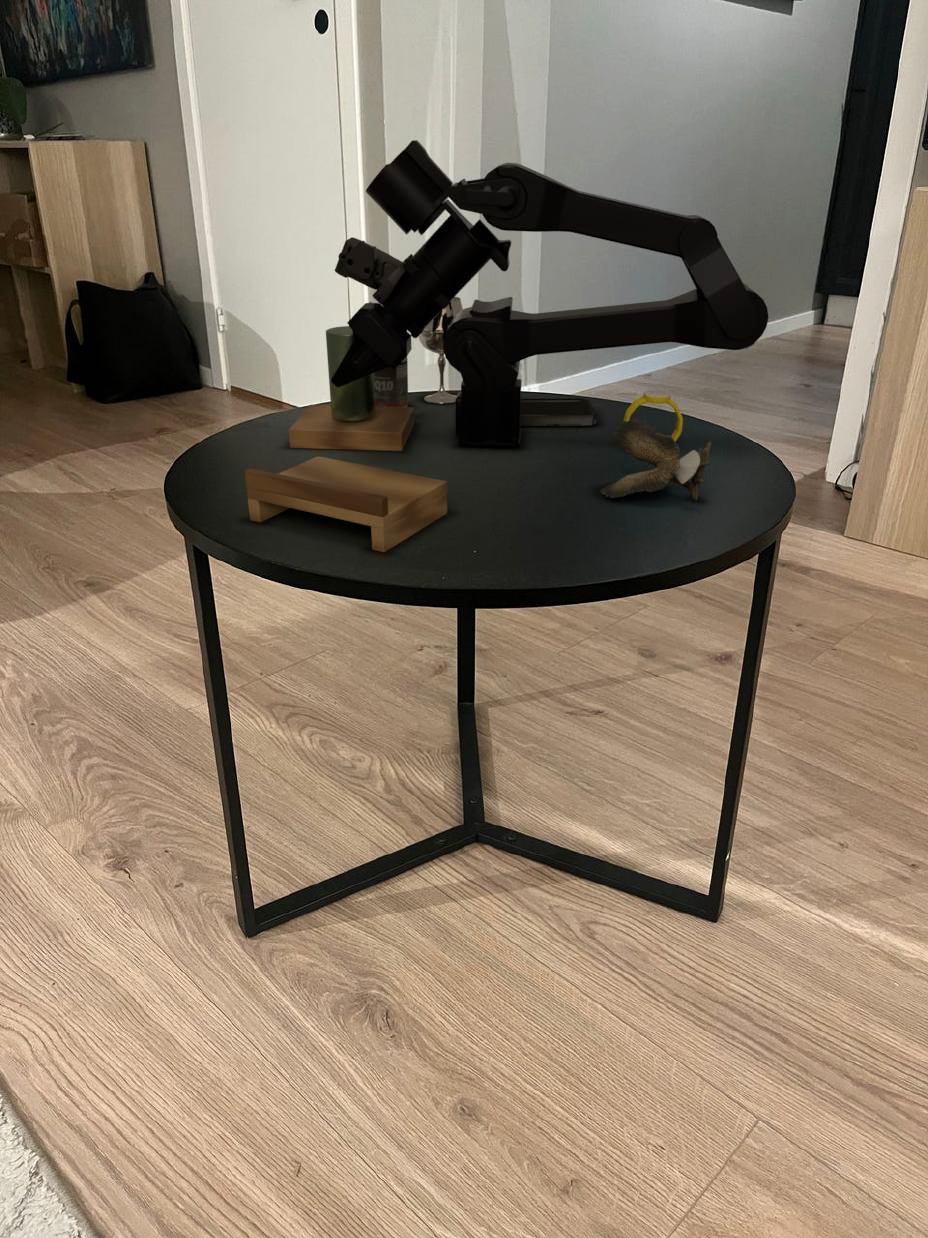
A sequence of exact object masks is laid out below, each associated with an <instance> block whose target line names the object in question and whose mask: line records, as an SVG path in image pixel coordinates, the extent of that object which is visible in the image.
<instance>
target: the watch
mask: <svg viewBox="0 0 928 1238" xmlns="http://www.w3.org/2000/svg"><path fill="white" fill-rule="evenodd" d="M671 396H672V395H671V394H670V393H669V392H667V391H662V390H646V391H643V395H642V396H641V397H639V398H636V399H635V400H634V401H632V403H631V404H630V406H628V408H627V409H626V411H625V413H624V417H623V421H622V423H623V422H624V421H629V420H630V421H631V416H632V415H633V414H634V412H635V411H636V410H638V408H639V407H640V406H642V405H645V404H646V403H651V404H658V405H660V404H661V405H662V404H668V405H669V406H671V408H672V409H673V410H674V412H675V414H676V425H675V429H674V431H673V432H672V433H671V435H670V436H671V437H672V439H674V441H675V442H676V443H677V440H678V439H679V437H680V436H681V434H682V432H683V423H684V419H683V415H682V413H681V410H680V407H679V406H678V405H677V404H676V402H675V401H674V400H672V399H671Z"/></svg>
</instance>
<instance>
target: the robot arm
mask: <svg viewBox="0 0 928 1238" xmlns="http://www.w3.org/2000/svg"><path fill="white" fill-rule="evenodd" d="M365 193H366V194H367V195H368V196H369V197H370V198H371V199H372V200H373V201H374V203H376V204H377V205H378V207H379V208H380V209H381V210H382V211H383V212H384V213H385V214H386V215H387V216H388V217H389V218H390V219H391V220H392V222H394V223H395V225H396V226H397V227H398V228H399V229H400V230H401V231H402V232H403V233H404V234H405V235H407V236H408V235H409V233H410V232H413V233H414V234H415V233H416V232H418V234H419V235H420V236H423V235H424V234H425V233H426V232H427V231H428V230H429V228H430V227H431V226H432V225H433V224H434V223H435V222H437V220H438V219H439V218H440V216H442V214H443V213H444V212H445V211H446V212H447V213H448V214H449V216H448V217H447V218H446V219H445V220H444V221H443V222H442V223H441V225H439V226H438V228H437V229H436V230H435V231H434V232H433V233H432V234H431V236H430V237H428V239H427V240H426V241H425V242H424V243H423V244H422V245H421V246H420V247H419V248H418V250H417V251H416V252H415V253H414V254H412V253H410V254H409V255H408V256H407V257H406V258H405V259H404V260H403V261H402V260H399V259H398V258H396V257H394V256H392V255H391V254H389V253H387V252H385V251H383V250H381V249H380V248H377V246H375V245H371V244H369V243H367V242H366V241H365V240H361V239H359V238H357V237H352V236H351V237H350V238H348V239H346V240H345V241H344V244H343V247H342V249H341V251H340V253H339V254H338V260H337V262H336V266H335V268H334V272H335V273H336V274H338V275H339V276H341V277H342V278H345V279H347V278H350V279H352V280H353V281H356V282H358V283H360V284H362V285H364V286H365V287H368V288H370V289H373V290H375V292H374V293H373V294H372V295H371V296H372V297H373V299H374V300H375V301H376V302H372V301H369V302H365V303H364V304H363V305H362V306H361V307H360V308H359V309H358V310H357V311H356V312H355V313H354V314H353V316H351V318H350V319H349V320H348V321H347V322H346V324H347V326H349V327H350V328H351V329H352V332H353V343H352V345H351V346H350V348H349V350H348V351H347V353H346V355H345V357H344V358H343V360H342V362H341V363H340V365H339V367H338V368H337V370H336V372H335V373H334V375H333V377H332V379H331V382H332V383H333V384H334V385H335V386H336V387H341V386H343V385H346V384H348V383H351V382H353V381H355V380H358V379H360V378H362V377H365V376H367V375H370V374H372V373H375V372H377V371H380V370H383V369H385V368H388V367H391V368H392V369H395V368H396V367H397V366H398V365H399V364H400V363H401V362H402V361H403V360H404V359H405V358H406V357H407V358H408V356H409V354H410V353H411V351H412V347H413V346H412V338H413V339H417V338H419V337H418V336H419V335H420V334H421V333H422V332H423V331H424V329H425V327H426V326H427V325H428V324H429V323H430V322H431V321H432V320H433V319H434V318H435V317H436V316H437V315H438V314H439V313H440V312H441V311H442V309H445V308H446V307H447V306H448V305H449V304H450V303H451V301H452V299H453V298H454V297H457V295H458V294H459V293H460V292H461V291H462V290H463V289H464V288H465V287H466V286H467V285H468V283H470V281H471V280H472V279H473V278H475V276H477V274H478V273H479V272H480V271H481V270H482V269H483V268H484V267H485V265H487V264H488V263H489V261H490V260H491V261H492V262H493V263H494V264H495V265H496V266H497V267H498V269H500V271H502V272H507V271H508V270H509V267H510V249H511V246H512V242H513V241H512V240H511V239H499V238H498V237H497V236H496V235H495V234H494V233H493V231H492V230H491V229H489V227H488V226H487V225H486V224H485V223H484V222H483V221H482V219H480V218H479V219H478V220H477V221H476V222H475V223H474V224H473V223H472V222H470V220H469V219H467V218H466V216H464V215H463V214H462V212H461V211H466V212H470V213H475V214H480V215H482V216H483V218H484V220H485V221H486V223H488V225H490V226H491V227H493V228H495V229H498V230H500V231H506V232H508V231H509V232H531V233H545V232H546V233H547V232H549V233H550V232H562V233H563V232H565V233H566V232H567V233H574V234H578V235H582V236H586V237H589V238H594V239H599V240H604V241H608V242H612V243H617V244H620V245H626V246H630V247H634V248H638V249H643V250H646V251H651V252H657V253H660V254H665V255H670V256H673V257H678V258H679V259H680V258H681V260H682V263H683V265H684V266H685V268H686V270H687V273H688V275H689V277H690V279H691V281H692V283H693V285H694V287H695V289H692V290H690V291H687V292H685V293H681V294H679V295H677V296H674V297H671V298H669V299H665V300H654V301H646V302H645V301H644V302H635V303H626V304H616V305H615V304H614V305H606V306H596V307H595V306H594V307H586V308H585V307H584V308H577V309H575V308H574V309H565V310H556V311H545V312H537V313H535V312H534V313H531V312H524V311H520V310H514V309H513V301H514V298H513V297H512V296H508V297H507V296H506V297H504V298H500V299H496V300H493V301H483V300H479V299H474V300H473V303H472V304H471V306H470V307H465V308H463V310H461V311H460V312H459V313H458V314H457V315H456V316H455V317H454V318H453V320H452V321H451V323H450V325H449V327H448V329H447V331H446V334H445V337H444V340H443V350H444V357H445V360H447V362H448V364H449V365H450V366H451V367H452V368H453V369H455V370H456V371H457V372H458V373H460V375H461V376H460V377H461V378H462V380H461V383H460V391H459V392H458V393H457V394H456V396H457V397H456V402H455V436H457V437H459V439H458V446H460V447H480V448H481V447H485V448H486V447H487V448H520V447H521V439H522V438H521V437H522V426H520V409H521V399H522V379H521V378H518V377H519V374H520V373H519V372H520V365H521V361H524V360H526V359H528V358H530V357H533V356H539V355H550V354H559V353H560V354H561V353H569V352H581V351H589V350H590V351H591V350H601V349H612V348H613V349H614V348H623V347H633V346H634V347H635V346H643V345H652V344H653V345H655V344H663V343H677V344H682V345H687V346H688V345H689V346H692V347H698V348H704V349H716V350H726V351H727V350H728V351H740V350H745V349H748V348H750V347H752V346H754V345H755V344H756V342H757V341H758V340H759V339H760V338H761V337H762V336H763V334H764V333H765V331H766V329H767V327H768V322H769V311H768V306H767V304H766V302H765V300H764V298H763V297H761V296H760V295H759V294H758V293H756V291H754V290H753V289H752V288H751V287H750V286H748V285H747V284H746V283H744V282H743V281H742V278H741V277H740V274H739V273H738V271H737V269H736V268H735V266H734V264H733V263H732V261H731V259H730V257H729V256H728V254H727V252H726V251H725V249H724V246H723V245H722V243H721V241H720V239H719V237H718V231H717V228H716V227H715V225H714V224H713V223H712V222H711V221H710V220H708V219H707V218H705V217H703V216H700V215H698V214H689V215H688V214H686V215H685V214H681V213H677V212H672V211H668V210H663V209H660V208H655V207H650V206H646V205H642V204H637V203H633V202H629V201H625V200H621V199H617V198H611V197H607V196H602V195H598V194H594V193H591V192H590V193H589V192H585V191H581V190H578V189H576V188H573V187H571V186H568V185H567V184H564V183H562V182H560V181H558V180H556V179H554V178H552V177H550V176H548V175H546V174H543V173H541V172H538V171H536V170H534V169H532V168H530V167H528V166H525V165H523V164H521V163H517V162H505V163H501V164H498V165H497V166H496V167H494V168H493V169H492V170H490V171H489V172H488V173H486V175H485V177H484V178H483V177H482V178H477V179H471V180H467V179H466V178H463V179H460V180H459V181H457V182H453V181H452V180H451V178H450V177H449V176H448V175H447V174H446V173H445V172H444V170H443V169H441V167H439V165H438V164H437V163H436V162H435V161H434V160H433V159H432V158H431V156H430V154H429V153H428V151H427V149H426V148H425V146H423V144H422V143H421V142H419V140H417V139H416V140H415V139H414V140H411V141H410V142H409V144H408V145H406V147H405V148H404V149H403V150H401V152H400V153H398V155H397V156H395V158H394V159H393V160H392V161H391V162H390V163H386V164H385V165H384V166H383V167H382V168H381V170H380V171H379V172H378V174H377V175H376V176H375V177H374V178H373V179H372V181H371V182H370V183H369V185H368V187H367V188H366V189H365ZM448 198H449V199H448ZM460 210H461V211H460Z"/></svg>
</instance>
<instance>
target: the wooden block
mask: <svg viewBox="0 0 928 1238" xmlns="http://www.w3.org/2000/svg"><path fill="white" fill-rule="evenodd" d="M375 407H376V415H375V416H374V417H372V418H370V419H366V420H360V421H343V420H338V419H335V418H333V417H332V415H331V404H329V405H328V404H326V405H325V404H309V405H308V406H307V407H306V409H305V410H303V412H302V413H301V414H300V416H299V417H298V418H297V419H296V420H295V421H294V422H293V424H292V425H291V426H290V427H289V428H288V441H289V449H313V450H314V449H315V450H316V449H318V450H349V451H351V450H352V451H384V452H385V451H387V452H389V451H390V452H403V450H404V448H405V445H406V443H407V441H408V439H409V437H410V435H411V433H412V430H413V429H414V425H415V407H414V406H411V407H410V406H408V407H377V406H375Z"/></svg>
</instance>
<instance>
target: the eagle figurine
mask: <svg viewBox="0 0 928 1238" xmlns="http://www.w3.org/2000/svg"><path fill="white" fill-rule="evenodd" d="M614 431H615V432H614V433H613V434H612V438H613V439H614V440H613V441H614V443H615V444H616V445H617V448H618V449H619V450H620V451H622V452H624V453H626V454H628V455H630V456H631V457H633V458H635V459H637V460H638V461H641V462H644V463H648V464H650V465H652V466H654V467H655V468H653V469H648V470H644V471H638V472H635V473H630V474H627V475H624V476H623V477H622V478H620V479H619V480H618V481H616V482H613V483H611V484H608V485H606V487H602V488H601V490H599V492H600V493H601V495H603V496H605V497H606V498H608V497H609V498H610V499H614V498H621V497H626V496H627V495H633V494H635V493H640V492H641V493H642V492H650V493H653V492H657V491H661V490H664V488H666V487H667V484H668V483H675V484H677V485H679V486H682V487H683V488H686V489H687V490H688V491H689V492H690V494H691V498H692V499H693V500H694V501H695V502H697V501H698V500H699V488H700V485H701V484H704V483H705V480H704V478H703V475H704V472H705V469H706V466H708V465H710V464H711V461H708V459H709V455H710V451H711V447H712V441H708V442H707V443H706V446H705V447H704V448H703V447H700V448H699V450H698V451H697V450H695V449H693V450H691V451H689V452H688V453H687V454H685V455H683V456H681V457H680V453H681V450H680V449H681V448H680V446H679V445H678V443H677V441H676V442H675V441H674V439H672V437H671V435H669V434H668V435H667V434H664V433H661V432H659V430H658V429H656V428H653V427H652V426H651V425H649V424H648V422H647V421H646V420H642V419H639V420H638V419H632V420H631V419H630V420H629V421H624V422H623V421H622V423H620V424H619V425H618V427H616V428H615V430H614ZM690 479H691V482H690V481H689V480H690Z"/></svg>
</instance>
